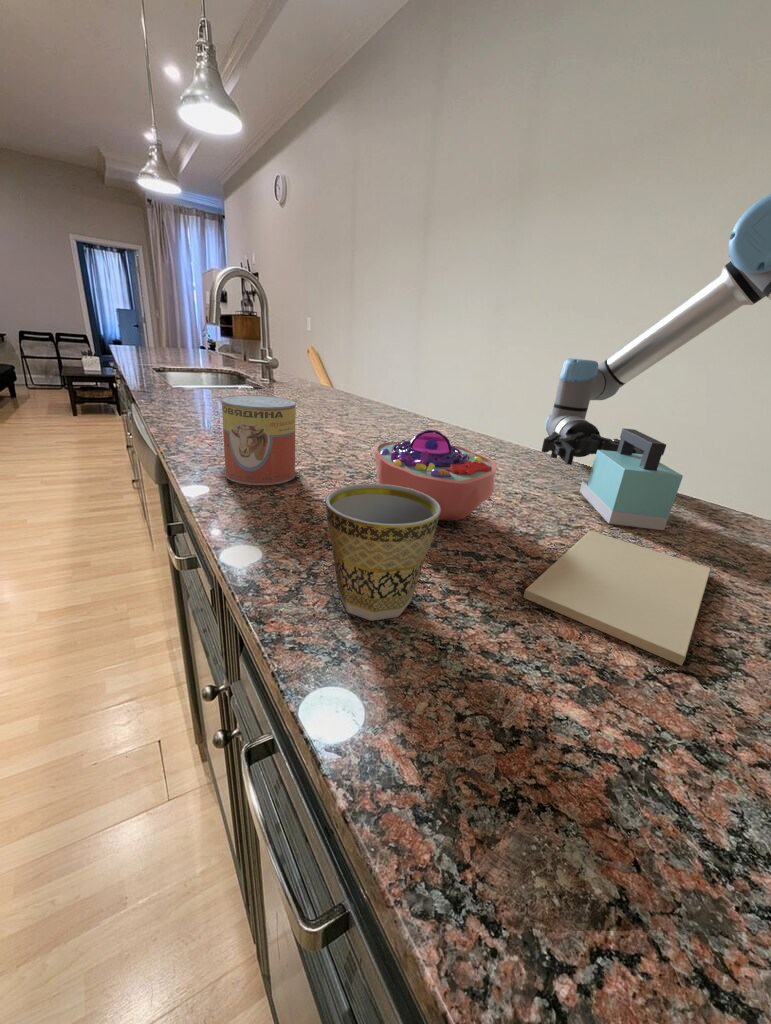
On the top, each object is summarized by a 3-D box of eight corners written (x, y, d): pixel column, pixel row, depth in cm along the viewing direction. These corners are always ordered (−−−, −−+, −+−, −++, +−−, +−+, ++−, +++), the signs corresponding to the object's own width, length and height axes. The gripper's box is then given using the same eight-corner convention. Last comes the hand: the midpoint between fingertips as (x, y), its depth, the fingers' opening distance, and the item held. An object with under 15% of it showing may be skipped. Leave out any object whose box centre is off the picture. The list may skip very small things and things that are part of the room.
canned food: (213, 481, 69) (208, 402, 64) (238, 462, 79) (236, 392, 75) (286, 488, 69) (286, 410, 64) (301, 467, 79) (302, 399, 75)
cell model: (369, 538, 55) (376, 448, 51) (369, 485, 73) (374, 416, 69) (504, 546, 56) (522, 459, 52) (470, 493, 74) (482, 425, 70)
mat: (587, 536, 61) (589, 530, 61) (708, 575, 53) (711, 568, 53) (523, 597, 45) (524, 589, 45) (681, 666, 37) (685, 656, 37)
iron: (577, 489, 81) (595, 421, 77) (622, 494, 81) (643, 426, 76) (608, 523, 67) (632, 442, 62) (664, 530, 66) (692, 448, 61)
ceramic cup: (402, 647, 36) (416, 536, 33) (300, 609, 40) (301, 505, 36) (449, 578, 47) (463, 489, 44) (366, 553, 51) (372, 469, 47)
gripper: (630, 459, 98) (678, 490, 78) (515, 447, 100) (534, 473, 80) (640, 425, 95) (692, 448, 76) (522, 413, 97) (543, 432, 77)
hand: (611, 461), depth 78 cm, fingers open, 13 cm apart
